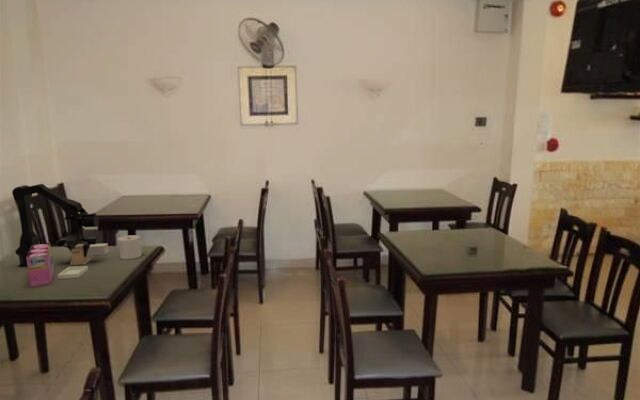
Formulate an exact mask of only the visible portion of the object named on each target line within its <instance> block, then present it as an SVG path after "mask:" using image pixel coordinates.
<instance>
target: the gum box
mask: <svg viewBox="0 0 640 400" xmlns="http://www.w3.org/2000/svg"><path fill="white" fill-rule="evenodd" d="M26 259H27V265H28V266H27V271H28V277H29V284H30V287H31V288H32V287H39V286H44V285H50V284H52V280H53V279H52V278H53V275H54V272H55V266H54V265H55V264H54V259H53V254H52V247H51V243H50V241H48V242H46V244H45V243H44V244H43V243H42V244H39V245H35V244H33V245H32V246H31V248H30V251H29V253H28V255H27V257H26Z"/></svg>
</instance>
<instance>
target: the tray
mask: <svg viewBox="0 0 640 400" xmlns="http://www.w3.org/2000/svg"><path fill="white" fill-rule="evenodd" d="M88 271H89V266H88V265H73V266H67V268H65V269H64V270H62V271H61V272H60V273H58V274H57V280H66V279H70V280H71V279H79V278H80V277H82V275H84V274H86V272H88Z"/></svg>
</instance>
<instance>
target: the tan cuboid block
mask: <svg viewBox="0 0 640 400" xmlns="http://www.w3.org/2000/svg"><path fill="white" fill-rule="evenodd" d="M71 251H72V253H71V257H72V261H73V265H72V266H82V265H83V261H85V260H86V259H87V258H88V257H89V256H88V253H87V256H86V257H84V248H83V244H78V245H77V246H76V247H74V248H73V249H71ZM71 251H70V252H71Z"/></svg>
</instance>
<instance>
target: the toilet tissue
mask: <svg viewBox="0 0 640 400" xmlns="http://www.w3.org/2000/svg"><path fill="white" fill-rule="evenodd" d="M117 242H118V243H117V245H118V251H119V252H118V253H119V259H120V260H133V259H137V258H140V257H141V256H142V253H143V252H142V244H141V236H140V235H137V234H136V235H134V234H133V235H124V236H121V235H119V236H118V237H117Z"/></svg>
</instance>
